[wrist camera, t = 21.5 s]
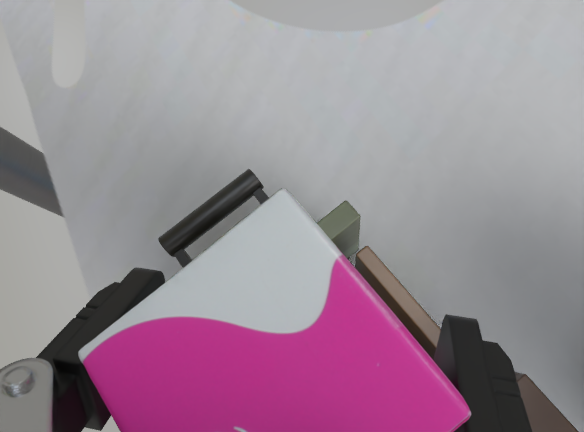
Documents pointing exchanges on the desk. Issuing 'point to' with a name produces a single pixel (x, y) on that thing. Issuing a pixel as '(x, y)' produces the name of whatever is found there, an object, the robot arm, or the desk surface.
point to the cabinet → (541, 408)
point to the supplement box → (269, 343)
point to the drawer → (336, 226)
